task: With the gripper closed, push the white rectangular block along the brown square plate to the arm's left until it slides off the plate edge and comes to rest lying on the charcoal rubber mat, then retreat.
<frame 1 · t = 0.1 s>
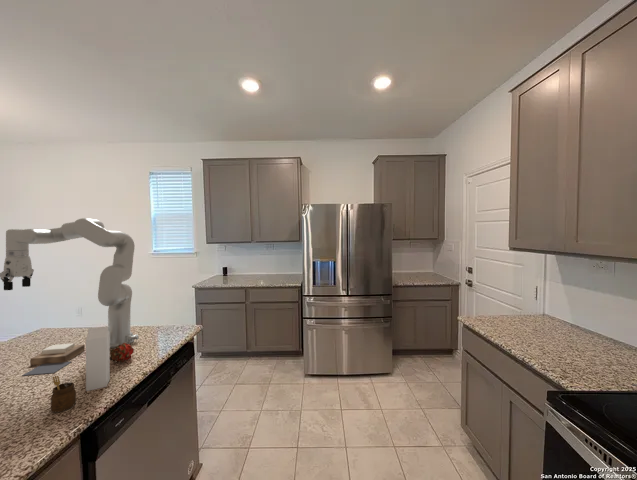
hand: (17, 288, 131), 31 cm above the counter, tool pointing down, fingers open, 9 cm apart
white rectangular block: (58, 350, 123), point 3 cm above the counter, touching brown square plate
mat: (48, 368, 112), on the counter
milk: (98, 385, 100), on the counter
utensil holder: (63, 408, 86), on the counter
dragon fruit: (121, 361, 120), on the counter
brown square plate: (59, 357, 123), on the counter
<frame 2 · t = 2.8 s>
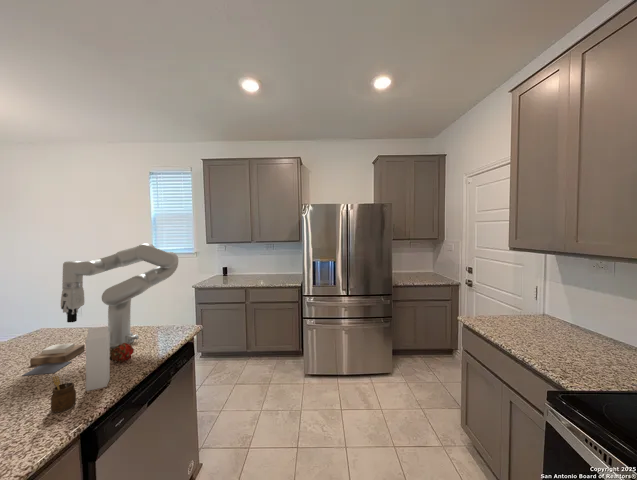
hand: (71, 321, 132), 14 cm above the counter, tool pointing down, fingers closed
nothing on the counter moved.
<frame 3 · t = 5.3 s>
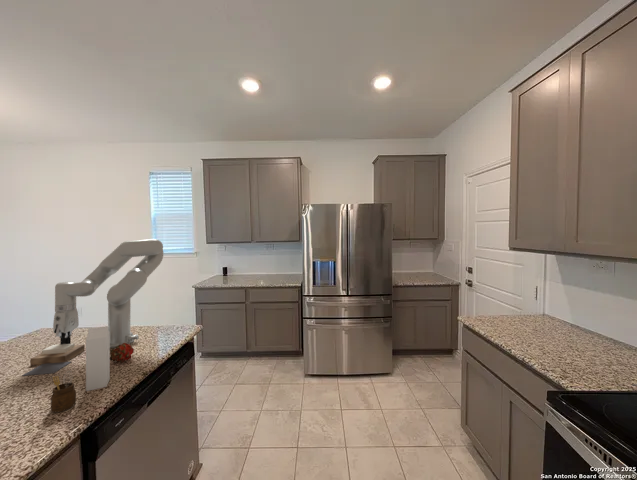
hand: (65, 345, 128), 4 cm above the counter, tool pointing down, fingers closed
white rectangular block: (58, 350, 123), point 3 cm above the counter, touching gripper
everything else where it was.
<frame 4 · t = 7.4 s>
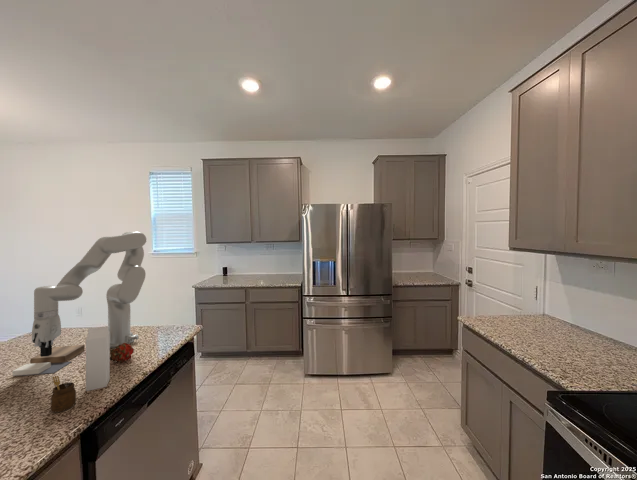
hand: (46, 355, 116), 4 cm above the counter, tool pointing down, fingers closed
white rectangular block: (32, 366, 110), point 2 cm above the counter, tilted 180°, touching mat
everything else where it was.
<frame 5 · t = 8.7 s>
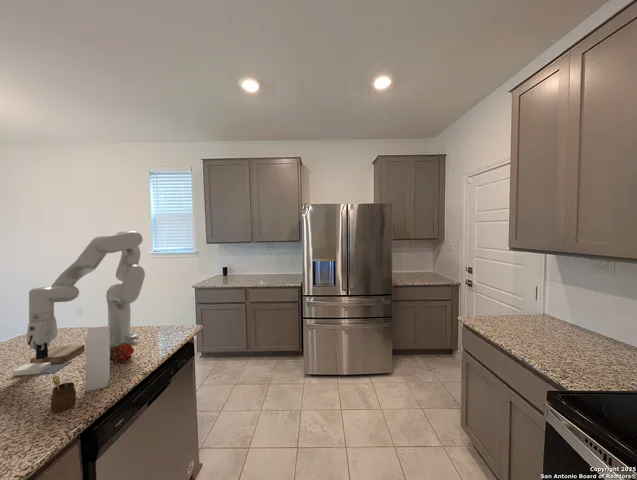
hand: (41, 358, 114), 4 cm above the counter, tool pointing down, fingers closed
nothing on the counter moved.
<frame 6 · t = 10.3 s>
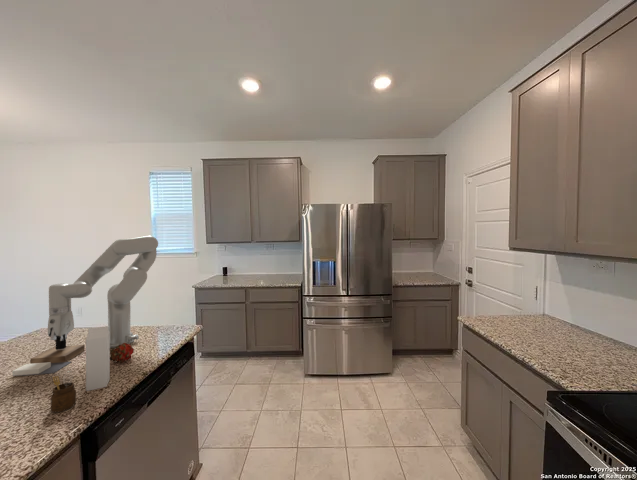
hand: (60, 348, 124), 4 cm above the counter, tool pointing down, fingers closed
nothing on the counter moved.
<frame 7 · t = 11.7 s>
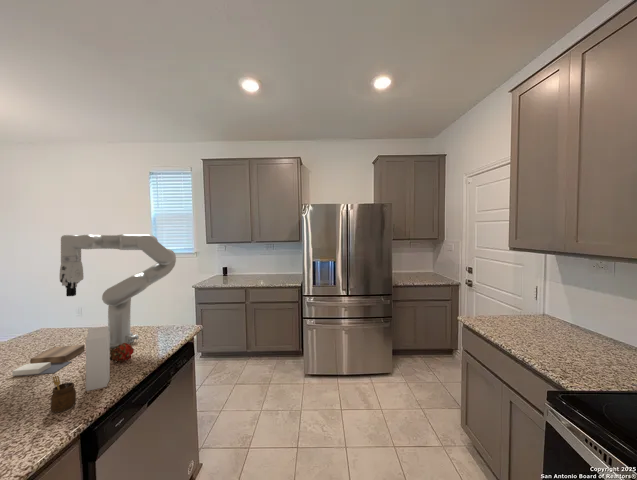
hand: (71, 295, 132), 27 cm above the counter, tool pointing down, fingers closed
nothing on the counter moved.
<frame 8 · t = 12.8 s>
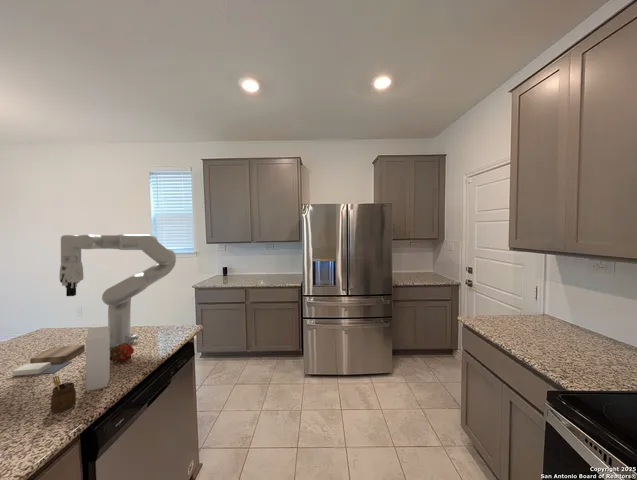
hand: (71, 295, 132), 27 cm above the counter, tool pointing down, fingers closed
nothing on the counter moved.
at the end: white rectangular block point 2.3 cm above the counter; white rectangular block inside the target area on the mat (4.8 cm from its centre), point 2.3 cm above the mat's base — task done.
